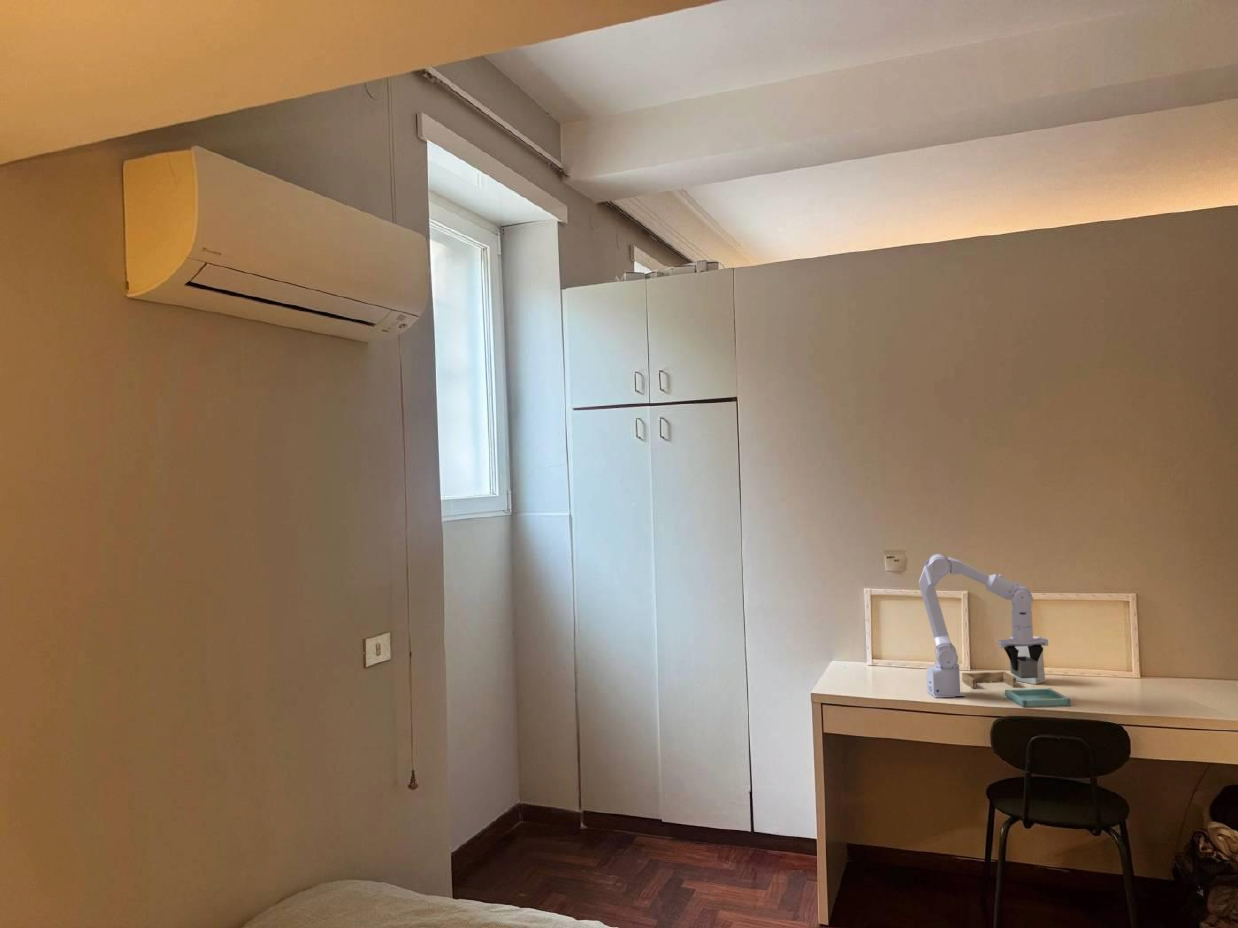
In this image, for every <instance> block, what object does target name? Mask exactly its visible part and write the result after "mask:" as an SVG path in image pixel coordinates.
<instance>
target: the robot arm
mask: <svg viewBox="0 0 1238 928" xmlns="http://www.w3.org/2000/svg"><path fill="white" fill-rule="evenodd" d="M949 573H950V575H952V576H953V575H961V576H965V577H967V578H969V579H971V580H974V581H976V582H978V583H980V584H982V585H984V587H985V589H986V591H987V592H989V593H992V594H993V595H996V596H999V597H1001V598H1003V599H1004V600H1007V601H1009V600H1010V601H1011V631H1012V632H1011V633H1012V635H1011V636H1013V639H1010V638H1009V639H1007V638H1006V639H999V640H997V645H998V648H1003V649H1004V651H1005V653H1006V654H1007V655H1006V656H1007V657H1008V658H1009V662H1011V665H1012V669H1013V670H1015V671H1018V652H1019V650H1017V649H1016V648H1015V647H1018V646H1028V649H1029V655H1030V658H1031V659H1033V660H1036V661H1037V663H1038V660H1039V657H1040V655H1041V653H1042V652H1043V653H1044V647H1043V646H1045V647H1047V646H1049V639H1047V638H1042V637H1041V638H1033V636H1034V628H1033V627H1034V626H1033V611H1032V603H1033V601H1034V597H1033V595H1032V593H1031V591H1030V590H1029V589H1028V588H1026V587H1025V586H1024V585H1022V584H1020V583H1019V582H1017V581H1015V582H1013V581H1011V580H1009V579H1007V578H1005V576H1004V575H1003V574H1001V573H999V574H996V573H994V574H989V575H988V574H986V573H985V572H983V571H980V570H979V569H977V568H974V567H973V566H971V565H969V564H967V563H965V562H963V561H961V560H958V559H956V558H953V557H950V556H948V557H947V556H946V555H944V554H943V553H935V554H932V555H931V556H930V557H929V558H928V559H927V560H926V562H925V563H924V567H923V568H922V571H921V575H920V578H919V580H918V586H919V590H920V594H921V597H922V600H923V604H924V607H925V611H926V615H927V618H928V621H929V626H930V629H931V632H932V635H933V638H934V643H935V656H936V662H935V663H934V665H933V666H928V667H927V669H926V688H927V689H926V692H927V693H928V694H930V695H931V696H933V698H956V697H955V696H965V697H966V695H965V694H964V693H963V692H961V683H960V682H961V680H960V679H961V677H960V664H959V663H958V661H959V655H958V654H957V653H958V652H957V649H956V647H955V646H954V644H953V643H952V642H951V639H950V636H949V633H948V629H947V626H946V622H945V619H944V614H943V612H942V607H941V605H940V601H939V598H938V594H937V591H936V587H937V585H938V583H939V582H940V580H942V579H943V578H944V577H946V576H947V575H948V574H949ZM1041 646H1042V647H1041ZM1011 665H1010V666H1011Z"/></svg>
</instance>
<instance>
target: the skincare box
mask: <svg viewBox="0 0 1238 928" xmlns="http://www.w3.org/2000/svg"><path fill="white" fill-rule="evenodd" d="M1033 638H1042V636H1037V635H1036V636H1035V635H1033ZM1009 639H1013V635H1011V636H1010V637H1009ZM1041 647H1043V645H1042V646H1041ZM1015 648H1016V649H1017V650H1019V652H1018V656H1027V657H1029V658H1030V655H1029V649H1028V646H1018V647H1015ZM1044 663H1045V662H1044V651H1043V652H1042V653H1041V655H1040V657H1039V660H1038V663H1037V667H1038V678H1020V677H1018V676H1016V675H1014V674H1012V676H1013V677H1015V678H1016V682H1021V683H1027V684H1032V685H1038V684H1042V683H1045V682H1046V673H1045V664H1044Z"/></svg>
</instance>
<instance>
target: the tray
mask: <svg viewBox="0 0 1238 928" xmlns="http://www.w3.org/2000/svg"><path fill="white" fill-rule="evenodd" d="M1004 695H1005V696H1006V697H1005V696H1004V697H1005V698H1007V699H1008V700H1010V701H1012V702H1013V703H1015V704H1017V705H1019V706H1021V707H1022V708H1045V707H1048V708H1049V707H1050V708H1051V707H1071V706H1072V703H1071V698H1070V697H1067V696H1065V695H1064V694H1061V692H1058V691H1056V690H1054V689H1052V688H1050V687H1049V688H1047V687H1046V688H1027V689H1026V688H1025V689H1024V688H1023V689H1019V688H1018V689H1005V690H1004Z"/></svg>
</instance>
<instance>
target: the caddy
mask: <svg viewBox="0 0 1238 928" xmlns="http://www.w3.org/2000/svg"><path fill="white" fill-rule="evenodd" d="M1009 662H1010V661H1009ZM1009 665H1010V674H1012V675H1013V674H1014V675H1016V676H1018V677H1020V678H1038V667H1037V661H1036V660H1033V659H1031V658H1029V657H1027V656H1018V671H1015V670H1013V669H1012V665H1011V662H1010V664H1009Z"/></svg>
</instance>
